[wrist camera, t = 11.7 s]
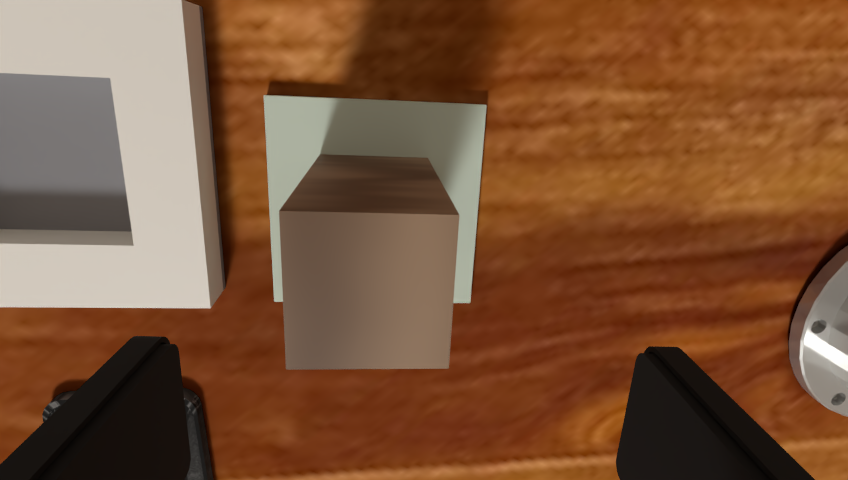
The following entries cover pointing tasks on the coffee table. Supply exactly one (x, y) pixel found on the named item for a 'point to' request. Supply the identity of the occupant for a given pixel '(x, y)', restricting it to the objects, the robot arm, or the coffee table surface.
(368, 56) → the coffee table surface
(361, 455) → the coffee table surface
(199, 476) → the phone
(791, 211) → the coffee table surface
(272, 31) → the coffee table surface
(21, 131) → the pocket plate
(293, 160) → the green mat
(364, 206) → the walnut block
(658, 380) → the robot arm
